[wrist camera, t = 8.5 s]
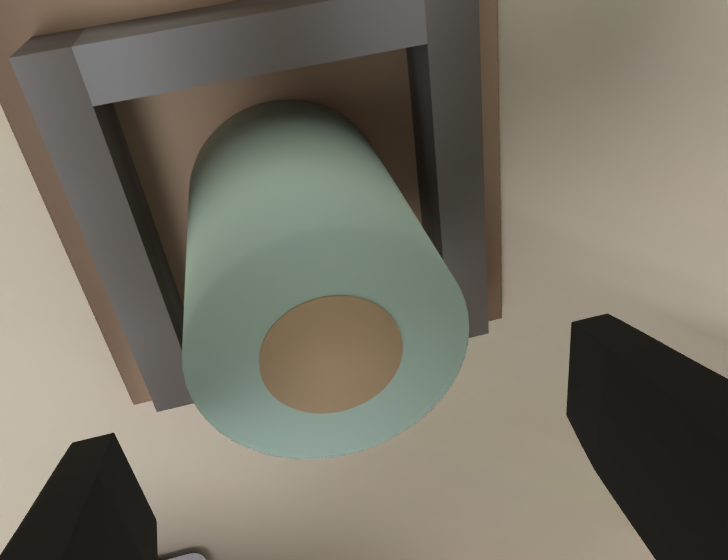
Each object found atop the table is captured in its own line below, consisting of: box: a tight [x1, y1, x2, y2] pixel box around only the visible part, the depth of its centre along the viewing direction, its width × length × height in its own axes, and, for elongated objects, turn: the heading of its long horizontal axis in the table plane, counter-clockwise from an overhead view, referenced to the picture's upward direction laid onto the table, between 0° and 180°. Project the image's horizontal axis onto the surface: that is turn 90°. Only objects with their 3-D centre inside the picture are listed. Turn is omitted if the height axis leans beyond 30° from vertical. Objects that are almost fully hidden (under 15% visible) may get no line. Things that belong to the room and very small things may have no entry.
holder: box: [0, 0, 502, 412], centre depth 17 cm, size 12×12×3 cm
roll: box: [182, 100, 469, 459], centre depth 15 cm, size 5×5×7 cm
